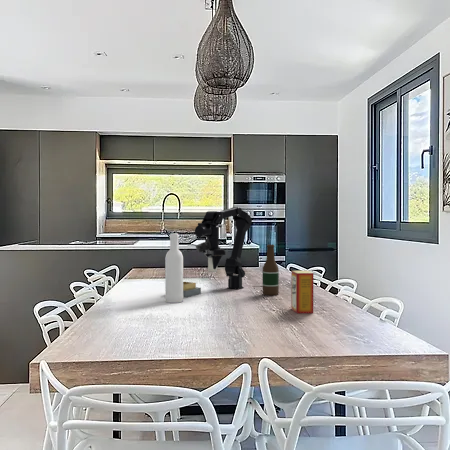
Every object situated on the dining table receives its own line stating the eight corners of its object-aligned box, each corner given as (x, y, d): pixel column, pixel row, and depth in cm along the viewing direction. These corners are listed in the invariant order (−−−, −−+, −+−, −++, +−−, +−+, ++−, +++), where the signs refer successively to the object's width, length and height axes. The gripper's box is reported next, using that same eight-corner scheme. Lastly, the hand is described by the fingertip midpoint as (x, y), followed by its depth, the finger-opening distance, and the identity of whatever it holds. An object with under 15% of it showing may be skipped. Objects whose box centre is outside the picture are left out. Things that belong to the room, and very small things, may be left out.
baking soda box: (291, 308, 198) (291, 269, 197) (307, 308, 198) (307, 269, 198) (296, 313, 188) (296, 272, 188) (313, 313, 189) (313, 272, 189)
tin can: (219, 271, 239) (219, 256, 238) (214, 272, 235) (214, 257, 234) (211, 271, 241) (211, 256, 241) (206, 271, 237) (206, 256, 237)
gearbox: (200, 293, 235) (200, 282, 235) (185, 297, 225) (185, 285, 224) (177, 291, 242) (177, 280, 242) (161, 294, 232) (161, 283, 232)
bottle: (185, 300, 217) (185, 233, 216) (179, 303, 209) (179, 233, 209) (169, 299, 219) (169, 233, 218) (162, 302, 211) (162, 233, 211)
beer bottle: (277, 296, 229) (277, 245, 228) (261, 295, 230) (261, 245, 230) (279, 293, 236) (279, 244, 236) (263, 292, 238) (263, 244, 237)
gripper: (191, 236, 243) (191, 267, 243) (203, 237, 226) (203, 271, 226) (211, 235, 247) (211, 266, 248) (226, 237, 230) (225, 270, 230)
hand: (212, 268), depth 238 cm, fingers closed on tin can, 4 cm apart
